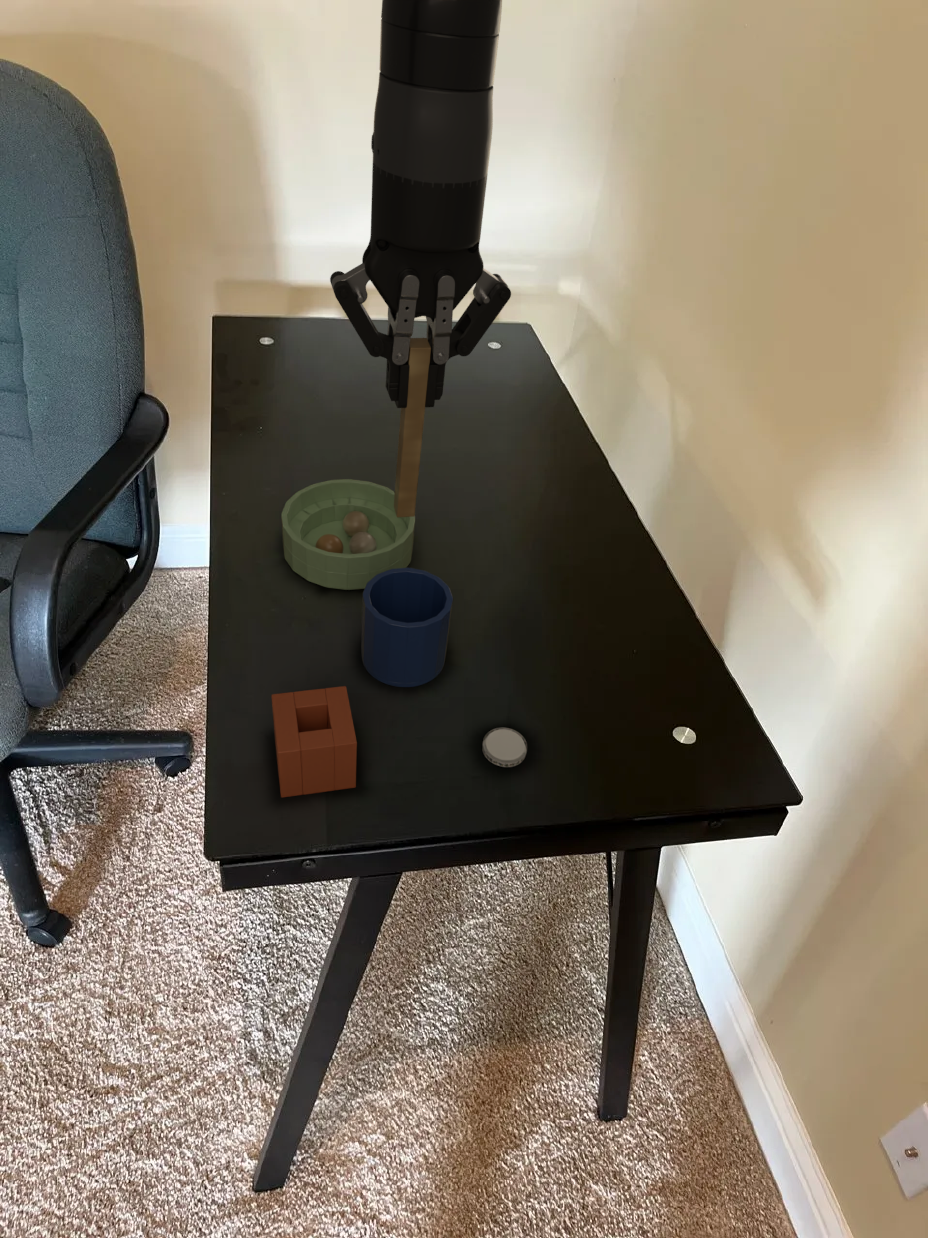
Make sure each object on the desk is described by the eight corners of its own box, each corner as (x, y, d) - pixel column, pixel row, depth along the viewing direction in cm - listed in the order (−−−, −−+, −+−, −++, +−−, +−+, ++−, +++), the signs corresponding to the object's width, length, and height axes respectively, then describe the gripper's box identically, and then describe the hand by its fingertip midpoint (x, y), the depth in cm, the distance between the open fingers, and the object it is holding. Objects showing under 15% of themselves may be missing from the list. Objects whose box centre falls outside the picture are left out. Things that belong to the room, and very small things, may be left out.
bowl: (290, 599, 86) (288, 561, 83) (278, 518, 96) (276, 482, 92) (423, 588, 89) (426, 552, 86) (399, 511, 99) (401, 476, 96)
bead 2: (343, 543, 93) (338, 524, 91) (347, 524, 95) (342, 505, 93) (369, 543, 93) (364, 523, 91) (373, 524, 95) (368, 505, 93)
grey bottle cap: (534, 759, 74) (535, 755, 73) (494, 772, 72) (495, 767, 72) (513, 726, 76) (514, 722, 76) (474, 738, 75) (475, 734, 74)
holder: (280, 798, 68) (277, 753, 64) (274, 739, 72) (271, 693, 68) (355, 787, 70) (356, 742, 66) (345, 731, 74) (345, 685, 70)
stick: (396, 517, 72) (410, 347, 61) (393, 506, 73) (406, 337, 62) (414, 516, 73) (431, 347, 61) (411, 505, 74) (426, 337, 62)
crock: (368, 692, 78) (371, 630, 72) (355, 632, 83) (357, 571, 78) (453, 682, 80) (461, 622, 74) (435, 624, 85) (441, 564, 80)
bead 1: (305, 552, 89) (316, 531, 88) (323, 545, 92) (333, 525, 90) (324, 570, 89) (336, 550, 87) (341, 563, 91) (353, 543, 90)
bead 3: (354, 567, 91) (340, 546, 89) (361, 550, 93) (348, 530, 91) (377, 561, 90) (364, 539, 88) (384, 544, 92) (371, 523, 90)
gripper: (332, 172, 49) (333, 430, 61) (548, 182, 53) (509, 424, 64) (317, 138, 54) (320, 382, 66) (514, 149, 58) (483, 378, 70)
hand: (413, 402), depth 65 cm, fingers closed on stick, 1 cm apart
